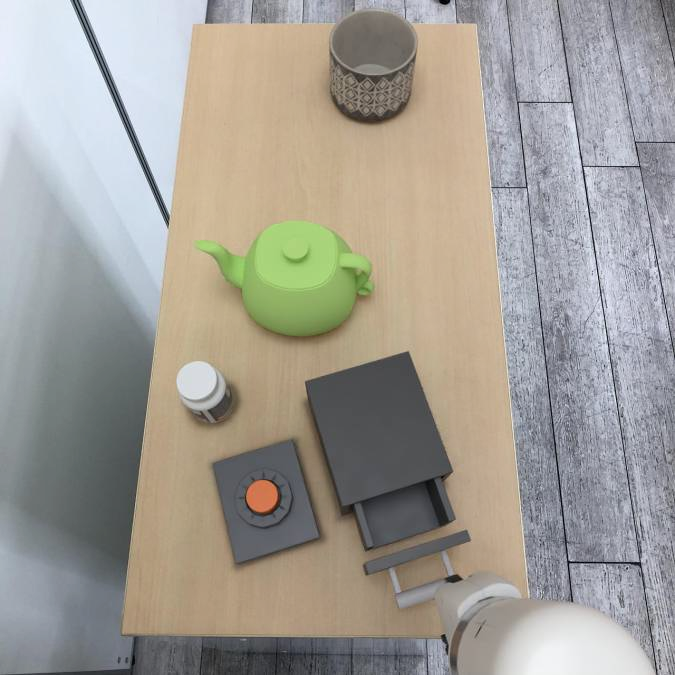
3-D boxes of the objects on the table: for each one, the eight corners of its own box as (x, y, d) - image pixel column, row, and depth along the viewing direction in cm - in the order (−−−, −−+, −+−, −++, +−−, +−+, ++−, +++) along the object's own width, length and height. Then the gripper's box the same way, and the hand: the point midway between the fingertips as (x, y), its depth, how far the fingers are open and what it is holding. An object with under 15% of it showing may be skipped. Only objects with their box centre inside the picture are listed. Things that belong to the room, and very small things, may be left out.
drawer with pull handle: (471, 583, 72) (486, 582, 65) (377, 614, 71) (381, 618, 64) (419, 436, 78) (427, 420, 71) (331, 463, 77) (330, 450, 70)
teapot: (205, 338, 84) (183, 296, 72) (221, 241, 90) (202, 186, 77) (370, 349, 83) (375, 309, 71) (375, 250, 89) (381, 197, 77)
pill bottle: (229, 376, 82) (215, 349, 73) (240, 417, 80) (227, 395, 71) (186, 389, 82) (166, 364, 72) (196, 430, 80) (177, 410, 70)
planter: (352, 52, 102) (353, -3, 93) (423, 79, 100) (432, 25, 91) (316, 108, 98) (313, 55, 89) (389, 137, 96) (395, 87, 86)
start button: (282, 508, 72) (281, 506, 71) (252, 517, 72) (250, 516, 70) (274, 478, 74) (273, 475, 72) (244, 487, 73) (242, 485, 72)
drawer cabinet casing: (440, 485, 77) (453, 471, 68) (342, 516, 76) (342, 506, 67) (401, 376, 82) (408, 350, 73) (308, 403, 81) (304, 381, 72)
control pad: (320, 538, 75) (319, 536, 71) (238, 564, 74) (233, 563, 70) (293, 442, 79) (291, 435, 75) (215, 466, 78) (209, 460, 74)
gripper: (625, 782, 36) (533, 718, 53) (522, 522, 41) (468, 540, 58) (503, 828, 35) (450, 748, 52) (414, 558, 40) (392, 565, 58)
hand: (460, 639), depth 55 cm, fingers closed
